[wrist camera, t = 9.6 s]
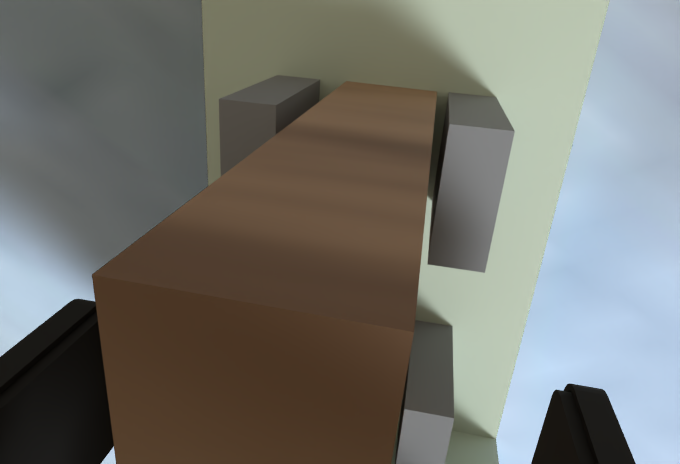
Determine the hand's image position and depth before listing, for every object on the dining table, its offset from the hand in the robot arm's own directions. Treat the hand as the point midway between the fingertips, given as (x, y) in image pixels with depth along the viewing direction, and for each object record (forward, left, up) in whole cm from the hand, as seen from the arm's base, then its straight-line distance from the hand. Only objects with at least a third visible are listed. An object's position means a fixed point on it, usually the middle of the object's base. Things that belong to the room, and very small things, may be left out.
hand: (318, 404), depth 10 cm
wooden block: (0, 0, -7) cm, 7 cm away
